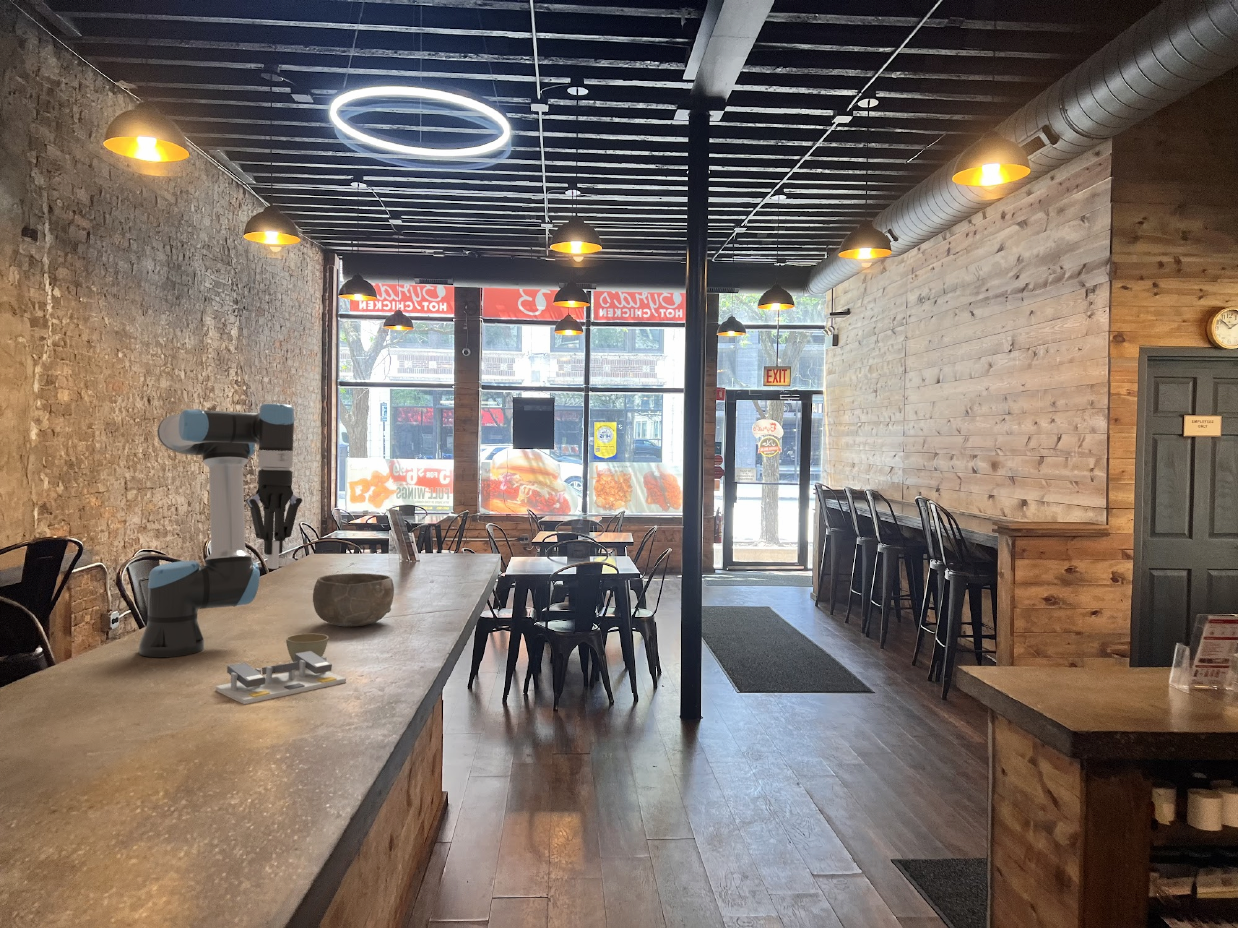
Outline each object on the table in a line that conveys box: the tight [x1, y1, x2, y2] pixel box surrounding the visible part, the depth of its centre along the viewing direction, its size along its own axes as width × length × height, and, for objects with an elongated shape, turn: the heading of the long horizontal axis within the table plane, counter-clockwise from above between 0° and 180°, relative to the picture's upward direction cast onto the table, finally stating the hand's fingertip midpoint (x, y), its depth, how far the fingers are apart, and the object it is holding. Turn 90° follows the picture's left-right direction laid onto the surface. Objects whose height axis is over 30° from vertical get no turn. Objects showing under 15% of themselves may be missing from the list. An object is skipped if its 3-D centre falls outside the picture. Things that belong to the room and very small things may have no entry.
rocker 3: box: [294, 651, 333, 674], centre depth 192 cm, size 10×4×2 cm, turn 50°
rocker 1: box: [226, 662, 266, 688], centre depth 180 cm, size 10×4×2 cm, turn 50°
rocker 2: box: [261, 661, 300, 676], centre depth 186 cm, size 10×4×2 cm, turn 50°
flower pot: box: [285, 633, 329, 669], centre depth 203 cm, size 10×10×7 cm
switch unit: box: [215, 655, 347, 705], centre depth 185 cm, size 14×24×5 cm, turn 140°
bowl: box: [312, 572, 395, 627], centre depth 251 cm, size 24×24×15 cm
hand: (272, 567), depth 191 cm, fingers closed
